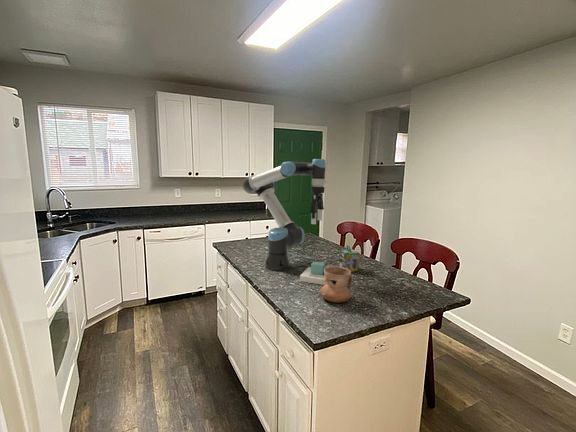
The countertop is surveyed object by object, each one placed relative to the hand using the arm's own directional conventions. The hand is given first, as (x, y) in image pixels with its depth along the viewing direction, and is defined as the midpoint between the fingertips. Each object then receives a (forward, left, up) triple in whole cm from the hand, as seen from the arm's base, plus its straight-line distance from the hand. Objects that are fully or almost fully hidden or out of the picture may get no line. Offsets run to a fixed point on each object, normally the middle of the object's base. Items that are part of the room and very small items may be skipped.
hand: (316, 222), depth 183 cm
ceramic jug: (+21, -37, -29) cm, 51 cm away
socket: (+8, -15, -29) cm, 33 cm away
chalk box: (+19, +7, -29) cm, 35 cm away
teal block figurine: (+6, -15, -29) cm, 33 cm away
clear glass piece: (+14, -15, -26) cm, 33 cm away
